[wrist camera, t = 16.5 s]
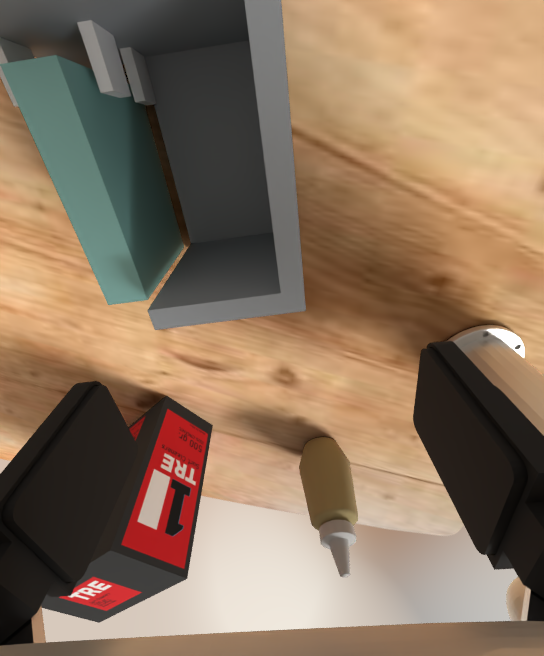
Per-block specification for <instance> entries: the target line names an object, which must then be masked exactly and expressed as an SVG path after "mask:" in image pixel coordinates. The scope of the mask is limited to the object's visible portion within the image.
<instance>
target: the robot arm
mask: <svg viewBox="0 0 544 656" xmlns="http://www.w3.org/2000/svg"><path fill="white" fill-rule="evenodd" d="M524 356H525V347H524V344H523V342H522V340H521V339H520V337H519V336H517V335H516V334H515V333H514V332H513V331H511V330H509V329H507V328H505V327H502V326H497V325H483V326H477V327H473V328H470V329H467V330H464V331H462V332H460V333H458V334H456V335H454V336H453V337H451V338H450V339H448V340H447V341H443V342H434V343H429V344H428V346H427V349H422V351H421V356H420V364H419V372H418V381H417V389H416V398H415V406H414V414H413V421H414V425H415V428H416V431H417V433H418V435H419V437H420V439H421V440H422V442H423V444H424V446H425V448H426V450H427V452H428V454H429V456H430V458H431V460H432V462H433V464H434V466H435V468H436V470H437V472H438V474H439V476H440V478H441V480H442V482H443V484H444V486H445V488H446V490H447V492H448V494H449V496H450V498H451V500H452V502H453V504H454V506H455V508H456V510H457V512H458V514H459V516H460V518H461V520H462V522H463V524H464V526H465V528H466V529H467V531H468V533H469V535H470V537H471V539H472V541H473V543H474V545H475V547H476V549H477V550H478V551H479V553H481V554H483V555H485V554H487V556H488V558H489V560H490V562H491V564H492V566H493V568H494V569H511V568H514V570H515V571H516V573H517V575H518V577H517V578H516V579H515V580H514V581H513V582H512V583H511V584H510V586H509V588H508V590H507V594H506V604H507V609H508V613H509V616H510V619H511V621H503V622H502V621H498V622H463V623H462V622H460V623H459V622H458V623H426V624H425V623H424V624H403V625H380V626H358V627H338V628H337V627H336V628H314V629H294V630H273V631H253V632H233V633H213V634H195V635H176V636H155V637H138V638H137V637H136V638H119V639H101V640H83V641H66V642H48V643H46V640H45V632H44V623H43V615H42V607H41V604H42V602H43V600H44V598H45V596H46V594H47V595H48V596H50V597H60V596H71V594H72V592H73V590H74V588H75V585H76V583H77V581H79V580H80V579H81V578H82V577H83V576H84V574H85V572H86V570H87V568H88V566H89V564H90V561H91V559H92V557H93V554H94V552H95V550H96V548H97V545H98V543H99V541H100V539H101V536H102V534H103V532H104V529H105V527H106V525H107V523H108V520H109V518H110V516H111V513H112V511H113V509H114V507H115V504H116V502H117V500H118V497H119V495H120V493H121V491H122V488H123V486H124V484H125V482H126V479H127V477H128V475H129V472H130V470H131V468H132V466H133V463H134V461H135V459H136V456H137V452H138V446H137V443H136V441H135V439H134V437H133V435H132V434H131V432H130V430H129V428H128V426H127V424H126V422H125V420H124V419H123V417H122V415H121V413H120V411H119V409H118V407H117V405H116V404H115V402H114V400H113V398H112V396H111V394H110V392H109V390H108V389H107V387H106V386H104V385H102V384H101V383H100V382H97V381H93V382H84V383H78V384H75V385H74V386H73V387H72V388H71V390H70V391H69V392H68V393H67V394H66V396H65V397H64V398H63V399H62V400H61V402H60V403H59V404H58V405H57V406H56V408H55V409H54V410H53V411H52V412H51V414H50V415H49V416H48V417H47V419H46V420H45V421H44V422H43V423H42V425H41V426H40V427H39V428H38V429H37V431H36V432H35V433H34V434H33V435H32V437H31V438H30V439H29V440H28V441H27V443H26V444H25V445H24V446H23V447H22V449H21V450H20V451H19V452H18V453H17V455H16V456H15V457H14V458H13V459H12V461H11V462H10V463H9V464H8V466H7V467H6V468H5V469H4V470H3V472H2V473H1V474H0V656H544V375H543V374H542V373H541V372H540V371H539V370H538V369H536V368H535V367H534V366H533V365H532V364H530V363H529V362H528V361H527V360H526V359H524Z"/></svg>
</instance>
